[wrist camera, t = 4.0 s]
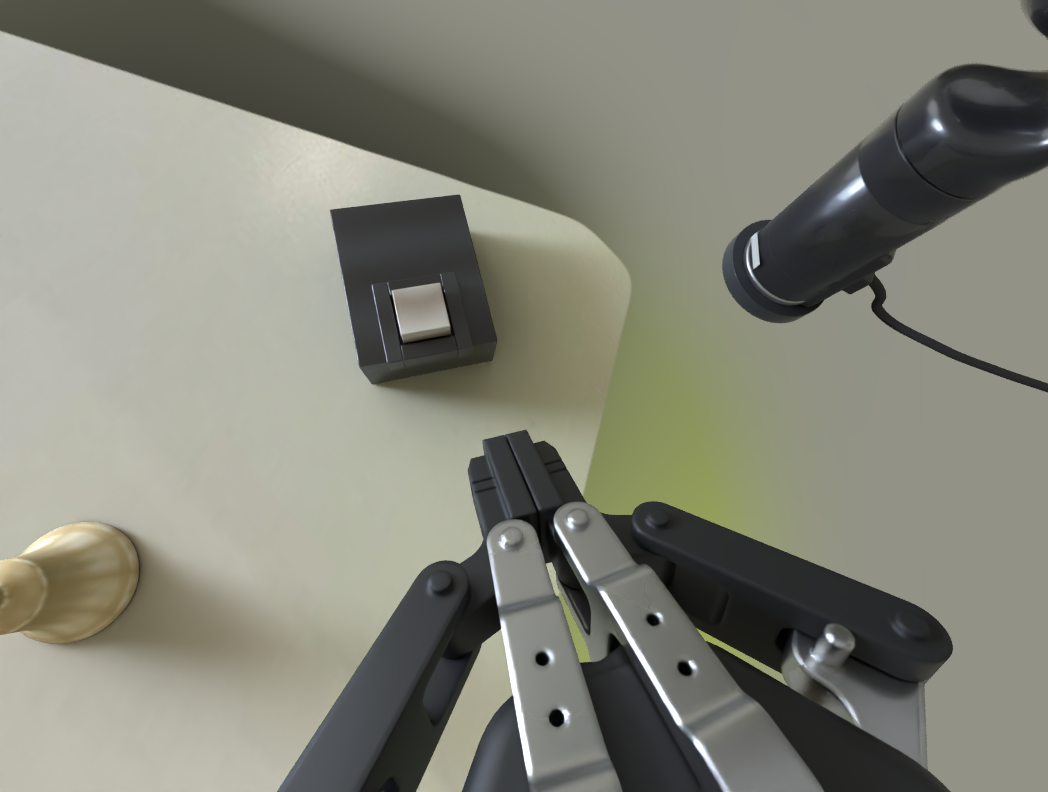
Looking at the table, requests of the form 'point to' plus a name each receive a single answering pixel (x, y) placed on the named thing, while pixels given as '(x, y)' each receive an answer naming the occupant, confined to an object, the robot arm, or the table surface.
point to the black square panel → (411, 284)
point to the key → (421, 312)
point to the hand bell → (68, 583)
